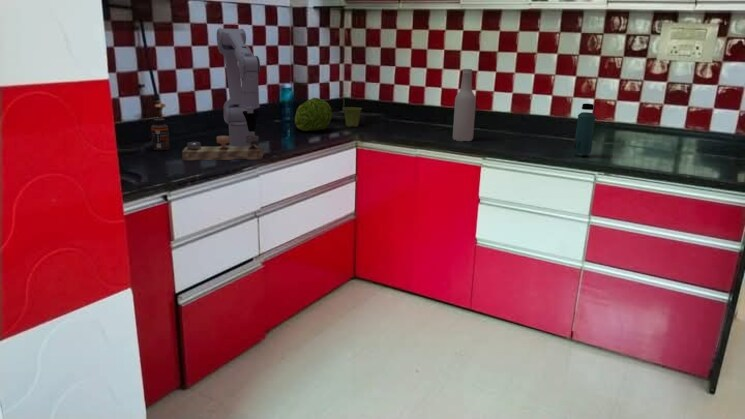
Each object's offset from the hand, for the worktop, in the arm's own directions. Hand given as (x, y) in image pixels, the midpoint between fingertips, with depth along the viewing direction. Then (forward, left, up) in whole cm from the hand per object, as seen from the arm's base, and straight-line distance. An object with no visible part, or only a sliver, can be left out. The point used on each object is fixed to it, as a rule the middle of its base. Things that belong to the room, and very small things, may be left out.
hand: (251, 131), depth 198 cm
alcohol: (-84, +41, -9) cm, 94 cm away
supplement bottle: (+13, -35, -9) cm, 39 cm away
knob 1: (+14, -14, -8) cm, 22 cm away
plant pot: (-82, -18, -9) cm, 84 cm away
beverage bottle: (-83, +92, -9) cm, 124 cm away
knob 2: (0, 0, -6) cm, 6 cm away
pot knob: (+7, -7, -6) cm, 12 cm away
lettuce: (-59, -24, -9) cm, 64 cm away
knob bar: (+7, -7, -9) cm, 14 cm away
